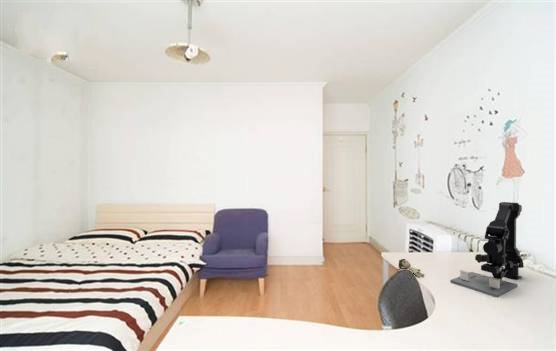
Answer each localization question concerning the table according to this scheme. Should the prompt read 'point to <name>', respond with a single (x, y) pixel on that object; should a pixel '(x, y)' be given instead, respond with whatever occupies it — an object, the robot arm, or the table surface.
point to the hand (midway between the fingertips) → (497, 283)
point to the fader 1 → (464, 275)
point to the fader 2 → (494, 282)
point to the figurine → (409, 267)
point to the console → (484, 284)
